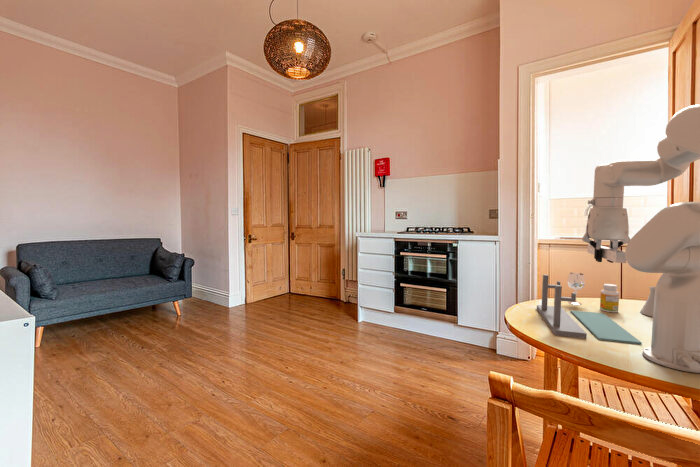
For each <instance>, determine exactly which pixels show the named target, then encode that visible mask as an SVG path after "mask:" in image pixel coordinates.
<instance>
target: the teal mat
mask: <svg viewBox="0 0 700 467" xmlns="http://www.w3.org/2000/svg"><path fill="white" fill-rule="evenodd" d="M570 313H571V314H572V315H573V316H574V317H575V318H576V319H577V320H578V321H579V322H580V324H582V325H583V326H584V327H585V328H586V329H587V330H588V331H589V332H590V333H591V334H592V335H593V336H594V337H595V338H596V339H597V340H598V341H606V342H613V343H615V342H616V343H621V344H622V343H624V344H632V345H633V344H634V345H643V344H642V343H643V342H641V340H639V339H638V338H636V337H635V336H634V335H633V334H631V333H630V332H629V331H627V330H626V329H625V328H624V327H622V326H621V325H619V324H618V323H617V322H615V321H614V320H613V319H612V318H610V317H609V316H608V315H606V314H605V313H604V312H596V311H595V312H591V311H583V310H570Z"/></svg>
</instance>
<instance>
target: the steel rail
mask: <svg viewBox="0 0 700 467" xmlns="http://www.w3.org/2000/svg"><path fill="white" fill-rule="evenodd" d="M601 250H602V259H605V260H606V261H607V260H610V261H613V263H615V264H616V263H617V264H627V261H626V258H625V251H622V250H618V249H617V250H616V249H612V248H609V247H607V246H605V245H601ZM594 253H595V248H593V247H592V246H591V245H590V244H589V243H587V254H590V255H593V256H594Z"/></svg>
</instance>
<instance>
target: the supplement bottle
mask: <svg viewBox="0 0 700 467" xmlns="http://www.w3.org/2000/svg"><path fill="white" fill-rule="evenodd" d="M617 290H618V285H617V284H613V283H604V284H603V289H601V290H600V303H599V304H600V306H599V310H601V311H603V312H606V313H618V312H619V305H620V304H619V301H620V292H619V291H617Z"/></svg>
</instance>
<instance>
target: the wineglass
mask: <svg viewBox="0 0 700 467" xmlns="http://www.w3.org/2000/svg"><path fill="white" fill-rule="evenodd" d="M585 284H586V279H585V275H584V273H582V272H569V273H568V276H567V286H568V287H569V288H570V289H573V290H574V291H573V293H575V294H576V295H577V294H578V291H579V290H582V289H584V287H585ZM567 303H568V304H570V305H576V306H579V305H582V302H578V301H577V300H576V301H575V302H569V301H567Z"/></svg>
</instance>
